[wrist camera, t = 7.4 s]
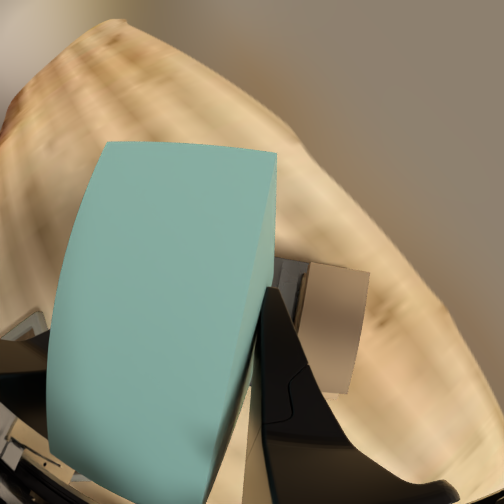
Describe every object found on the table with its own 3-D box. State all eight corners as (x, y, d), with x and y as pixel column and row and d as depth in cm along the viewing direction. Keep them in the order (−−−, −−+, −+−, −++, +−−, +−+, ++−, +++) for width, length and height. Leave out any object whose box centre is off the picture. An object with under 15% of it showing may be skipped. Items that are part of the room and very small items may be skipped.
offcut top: (342, 389, 16) (347, 394, 15) (285, 382, 16) (286, 387, 15) (363, 274, 18) (369, 272, 16) (308, 265, 18) (310, 261, 17)
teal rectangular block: (251, 378, 14) (196, 525, 2) (200, 365, 14) (49, 452, 3) (273, 275, 15) (277, 152, 4) (222, 265, 16) (107, 141, 4)
